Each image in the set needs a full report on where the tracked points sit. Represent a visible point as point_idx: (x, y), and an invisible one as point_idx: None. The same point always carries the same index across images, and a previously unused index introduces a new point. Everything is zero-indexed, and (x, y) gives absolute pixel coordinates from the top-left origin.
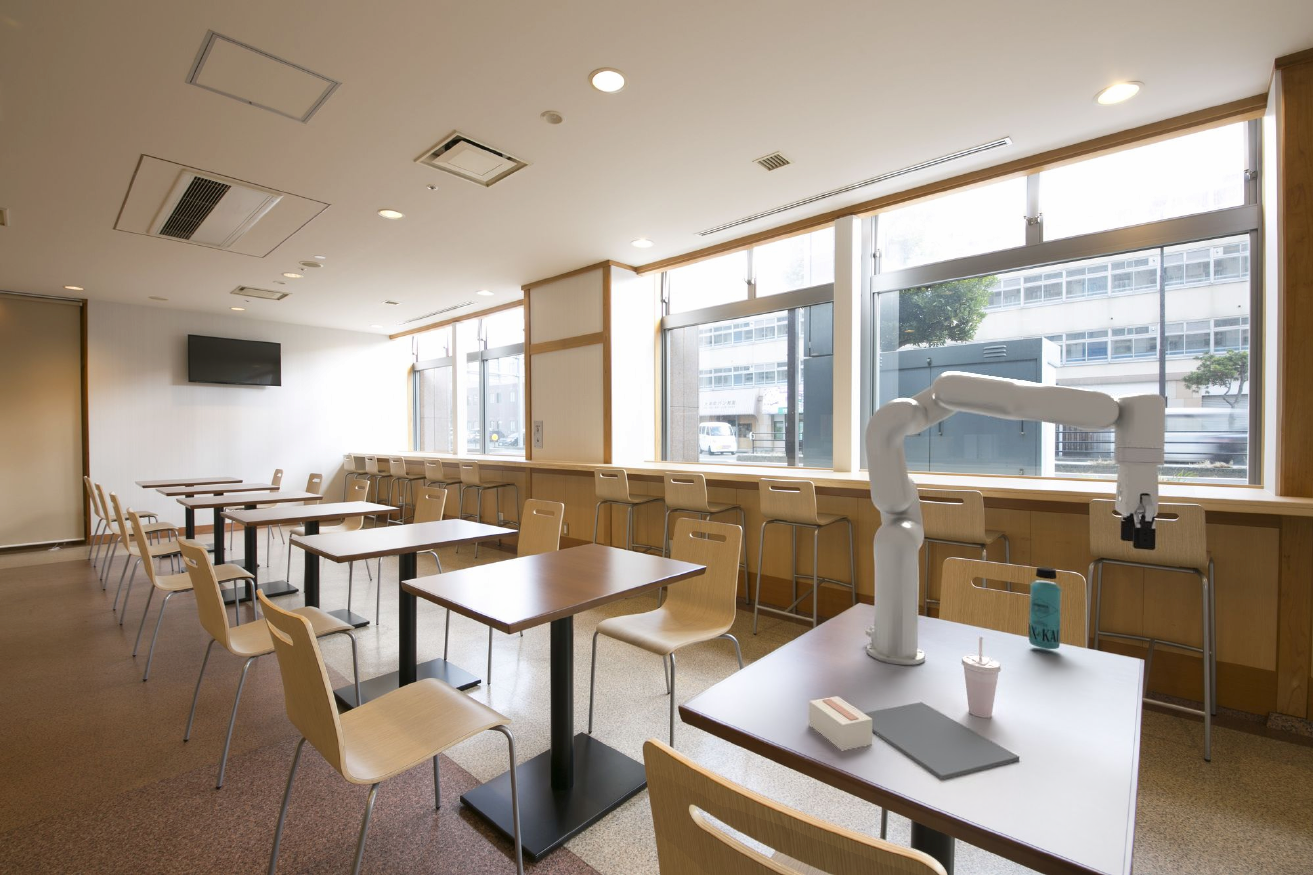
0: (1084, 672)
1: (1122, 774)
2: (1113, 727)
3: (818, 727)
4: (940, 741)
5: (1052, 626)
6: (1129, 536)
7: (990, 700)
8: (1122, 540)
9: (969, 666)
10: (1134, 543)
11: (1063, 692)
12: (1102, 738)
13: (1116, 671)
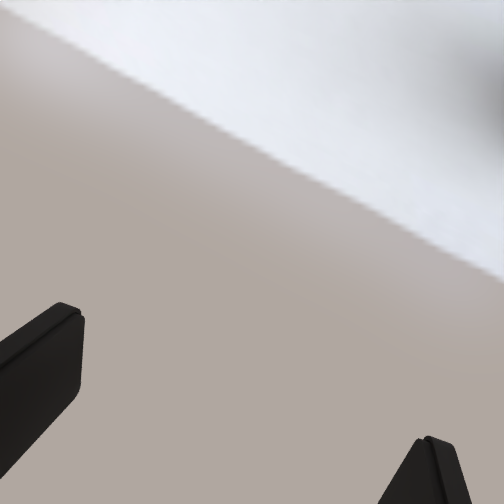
0: (473, 161)
1: (31, 18)
2: (188, 84)
3: None
4: None
5: None
6: (406, 498)
7: None
8: (428, 437)
9: None
10: (38, 318)
11: (335, 52)
12: (138, 41)
13: (487, 239)
